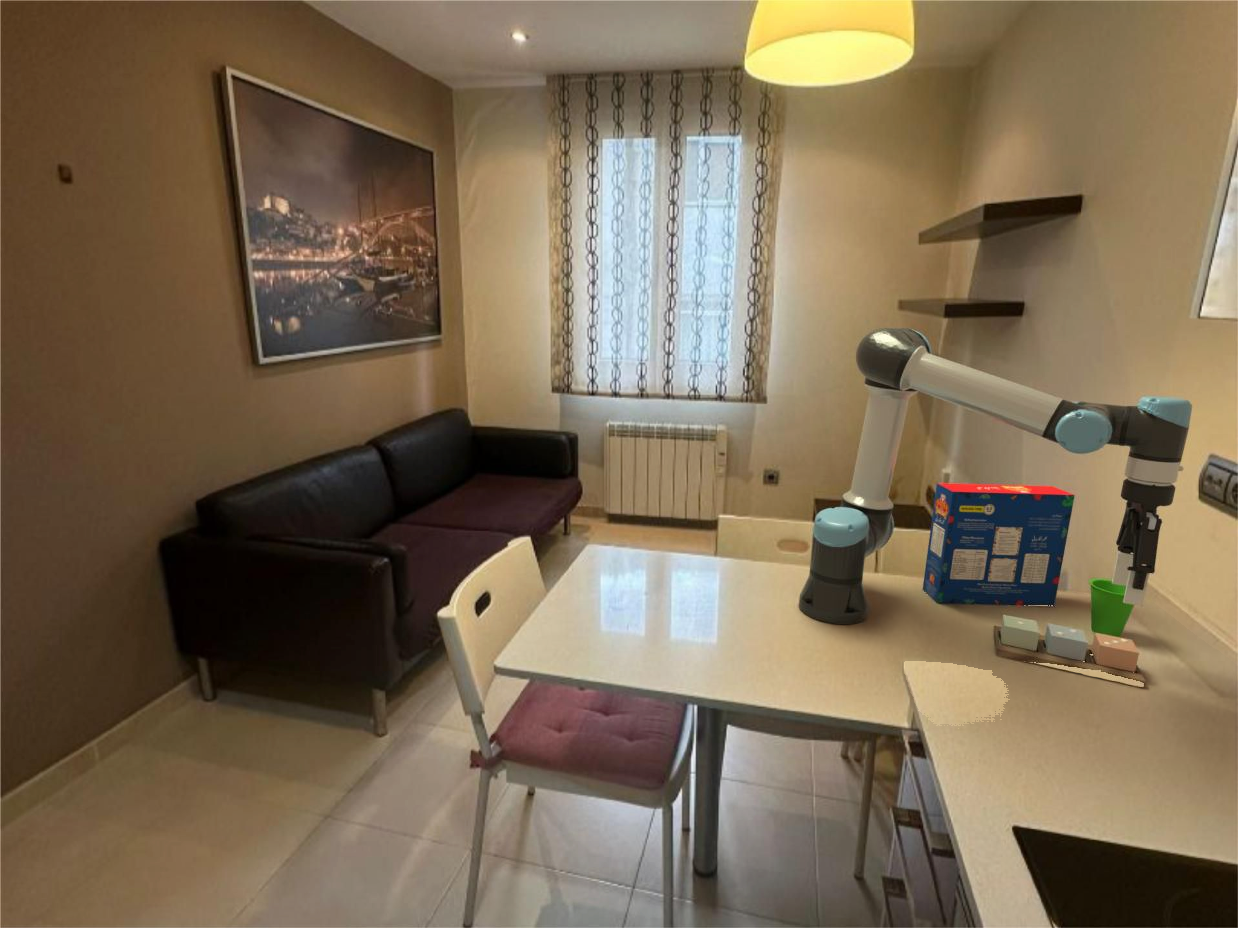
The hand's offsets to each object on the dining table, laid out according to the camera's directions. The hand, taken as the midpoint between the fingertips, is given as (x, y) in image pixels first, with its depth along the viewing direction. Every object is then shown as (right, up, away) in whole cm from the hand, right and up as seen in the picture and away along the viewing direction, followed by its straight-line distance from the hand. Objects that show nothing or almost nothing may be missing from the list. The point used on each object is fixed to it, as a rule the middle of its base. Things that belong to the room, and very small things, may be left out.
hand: (1126, 593), depth 123 cm
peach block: (0, -14, +3) cm, 14 cm away
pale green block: (-14, -12, +10) cm, 21 cm away
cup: (+10, -13, +18) cm, 24 cm away
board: (-8, -14, +7) cm, 18 cm away
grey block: (-7, -13, +7) cm, 16 cm away
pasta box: (-7, -8, +35) cm, 37 cm away
